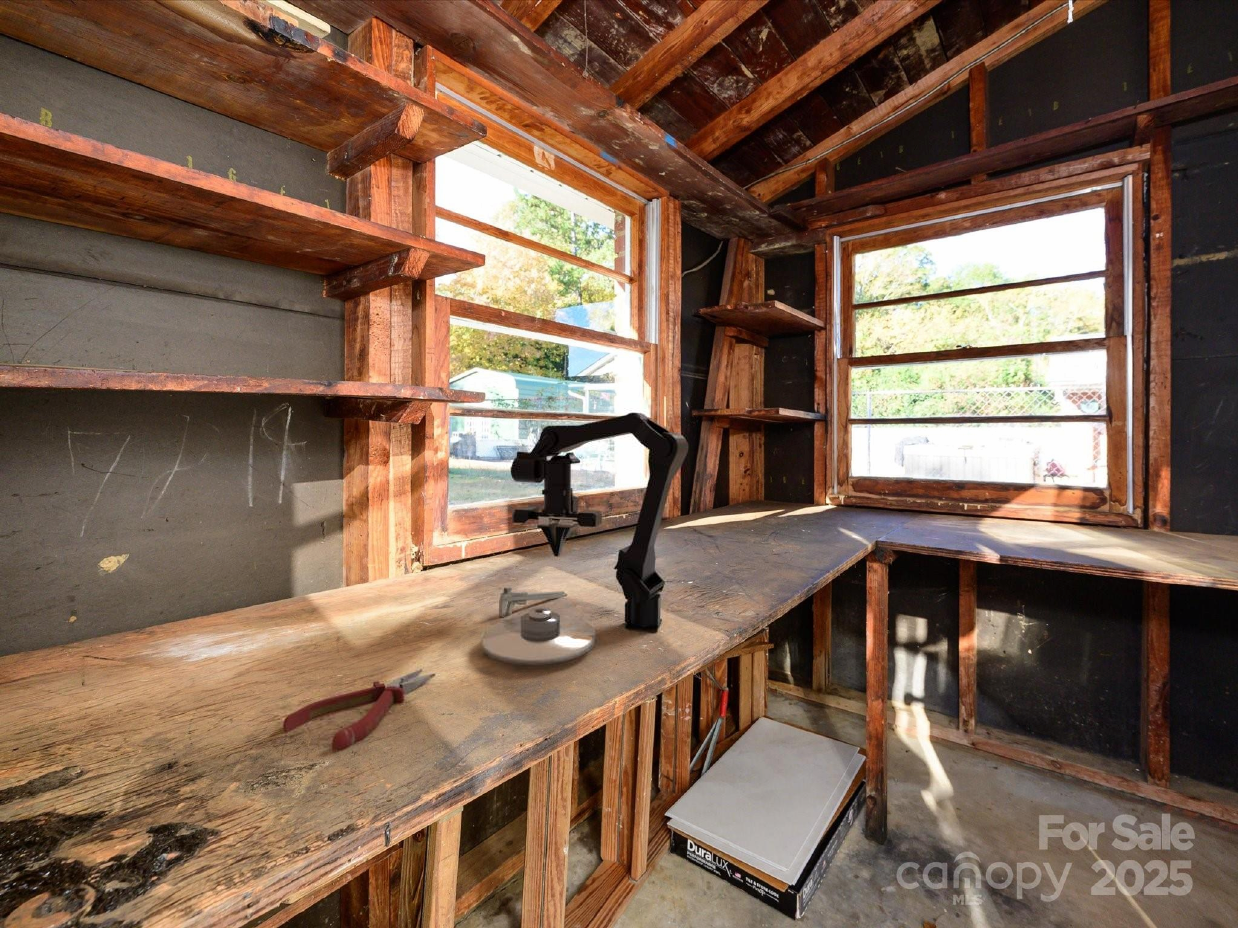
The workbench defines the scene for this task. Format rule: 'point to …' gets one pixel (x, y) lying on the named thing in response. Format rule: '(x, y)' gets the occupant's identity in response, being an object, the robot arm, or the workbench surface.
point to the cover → (540, 624)
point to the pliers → (371, 720)
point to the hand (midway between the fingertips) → (557, 556)
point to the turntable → (538, 642)
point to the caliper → (522, 599)
